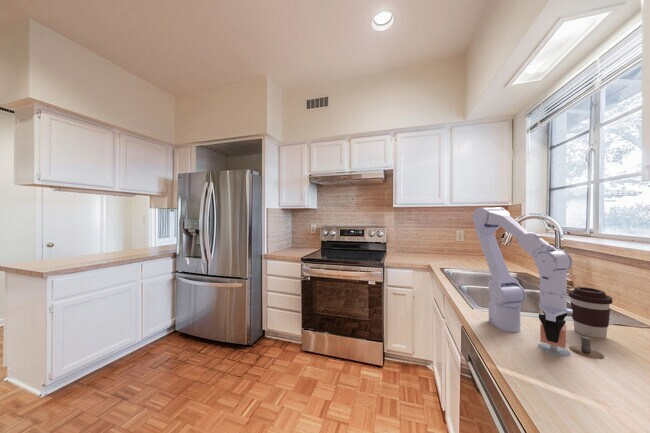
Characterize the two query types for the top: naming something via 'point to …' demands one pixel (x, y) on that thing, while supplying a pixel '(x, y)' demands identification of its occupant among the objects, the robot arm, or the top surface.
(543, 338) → the salmon square tube
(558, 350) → the stand
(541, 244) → the robot arm
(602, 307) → the coffee cup
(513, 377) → the top surface
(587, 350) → the hub
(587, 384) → the top surface
